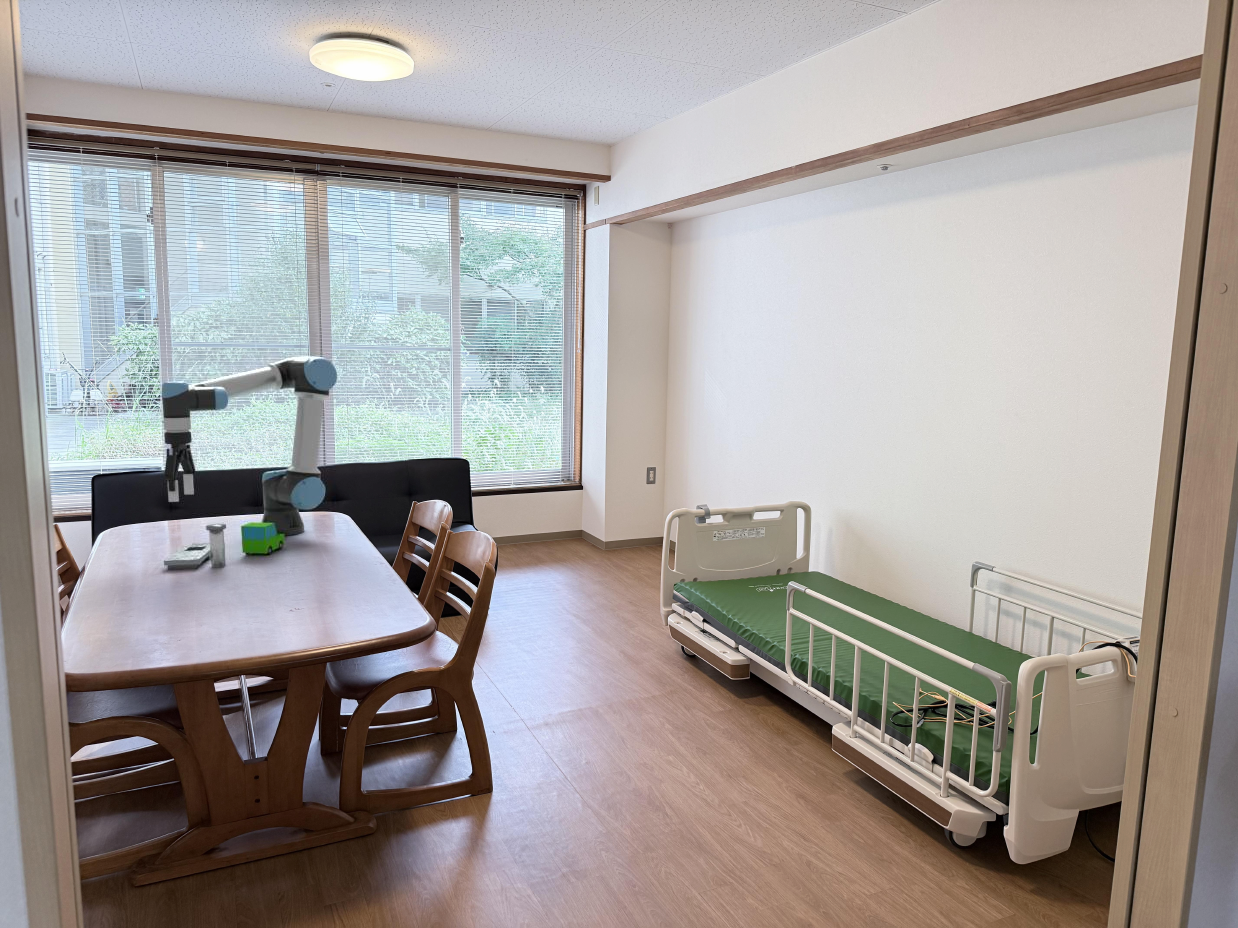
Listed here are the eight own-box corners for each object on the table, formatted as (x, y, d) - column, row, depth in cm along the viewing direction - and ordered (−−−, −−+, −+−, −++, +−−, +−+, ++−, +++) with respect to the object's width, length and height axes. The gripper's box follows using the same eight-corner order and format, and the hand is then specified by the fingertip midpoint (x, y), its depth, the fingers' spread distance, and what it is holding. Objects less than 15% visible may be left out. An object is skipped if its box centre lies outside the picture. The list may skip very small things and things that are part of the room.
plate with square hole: (224, 546, 293) (224, 537, 292) (199, 568, 263) (198, 559, 263) (193, 547, 291) (192, 539, 290) (164, 570, 262) (163, 560, 261)
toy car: (289, 547, 292) (287, 518, 290) (269, 557, 279) (267, 526, 277) (260, 546, 293) (259, 518, 291) (239, 556, 280) (238, 526, 278)
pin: (230, 563, 270) (227, 523, 268) (225, 568, 264) (223, 526, 262) (211, 564, 268) (208, 523, 267) (206, 569, 263) (203, 527, 261)
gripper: (179, 427, 280) (183, 491, 283) (149, 435, 256) (153, 504, 259) (203, 427, 281) (207, 491, 284) (175, 434, 257) (180, 504, 260)
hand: (181, 497), depth 271 cm, fingers open, 13 cm apart
